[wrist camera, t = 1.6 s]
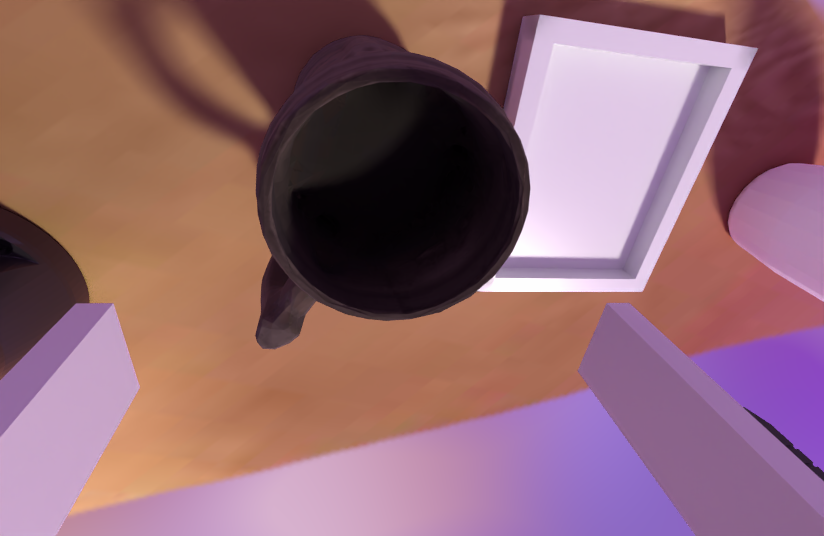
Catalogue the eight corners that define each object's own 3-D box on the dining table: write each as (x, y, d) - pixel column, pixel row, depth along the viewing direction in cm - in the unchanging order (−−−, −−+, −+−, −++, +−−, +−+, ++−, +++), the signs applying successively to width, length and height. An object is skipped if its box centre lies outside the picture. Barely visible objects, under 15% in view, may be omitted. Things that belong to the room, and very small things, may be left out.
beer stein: (339, -13, 26) (317, -42, 9) (466, 82, 30) (605, 176, 14) (251, 181, 32) (147, 366, 16) (367, 236, 36) (379, 429, 20)
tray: (467, 276, 39) (476, 291, 37) (522, 16, 28) (539, 14, 26) (625, 277, 43) (642, 291, 40) (726, 47, 32) (758, 48, 30)
